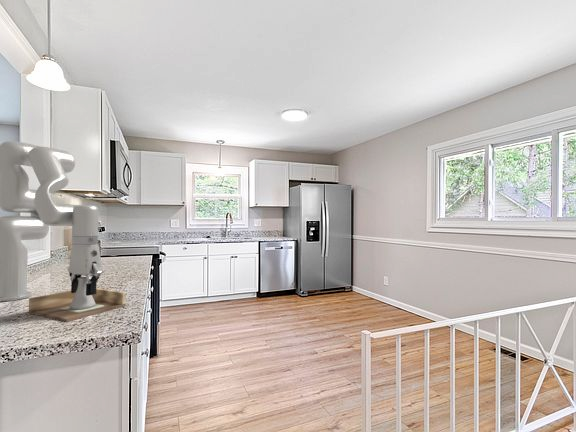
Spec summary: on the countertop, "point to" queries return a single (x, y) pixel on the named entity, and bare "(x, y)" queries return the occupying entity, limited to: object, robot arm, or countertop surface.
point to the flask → (82, 296)
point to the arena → (60, 310)
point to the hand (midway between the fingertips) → (83, 293)
